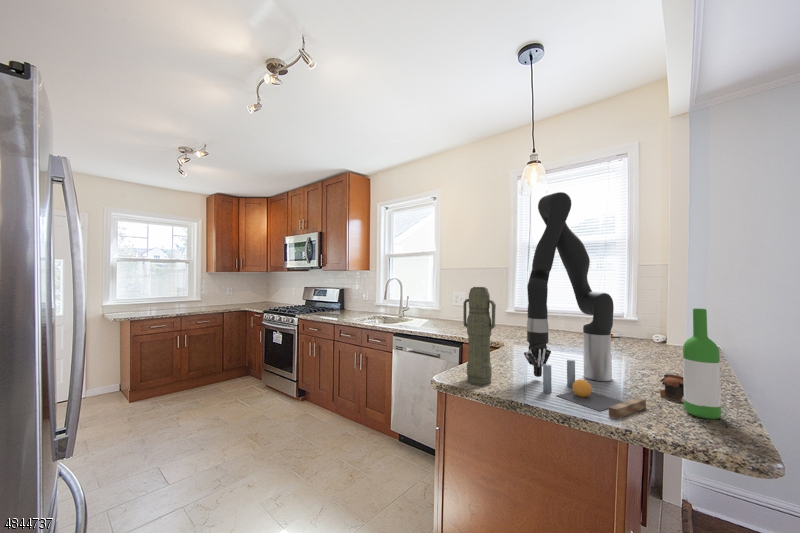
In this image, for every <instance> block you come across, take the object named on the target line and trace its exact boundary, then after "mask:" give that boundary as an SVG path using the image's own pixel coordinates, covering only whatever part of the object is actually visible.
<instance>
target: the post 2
mask: <svg viewBox="0 0 800 533" xmlns="http://www.w3.org/2000/svg"><path fill="white" fill-rule="evenodd" d="M575 381H576V360H574V359H566V386H567V387H570V388H572V386H573V383H574V382H575Z"/></svg>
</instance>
